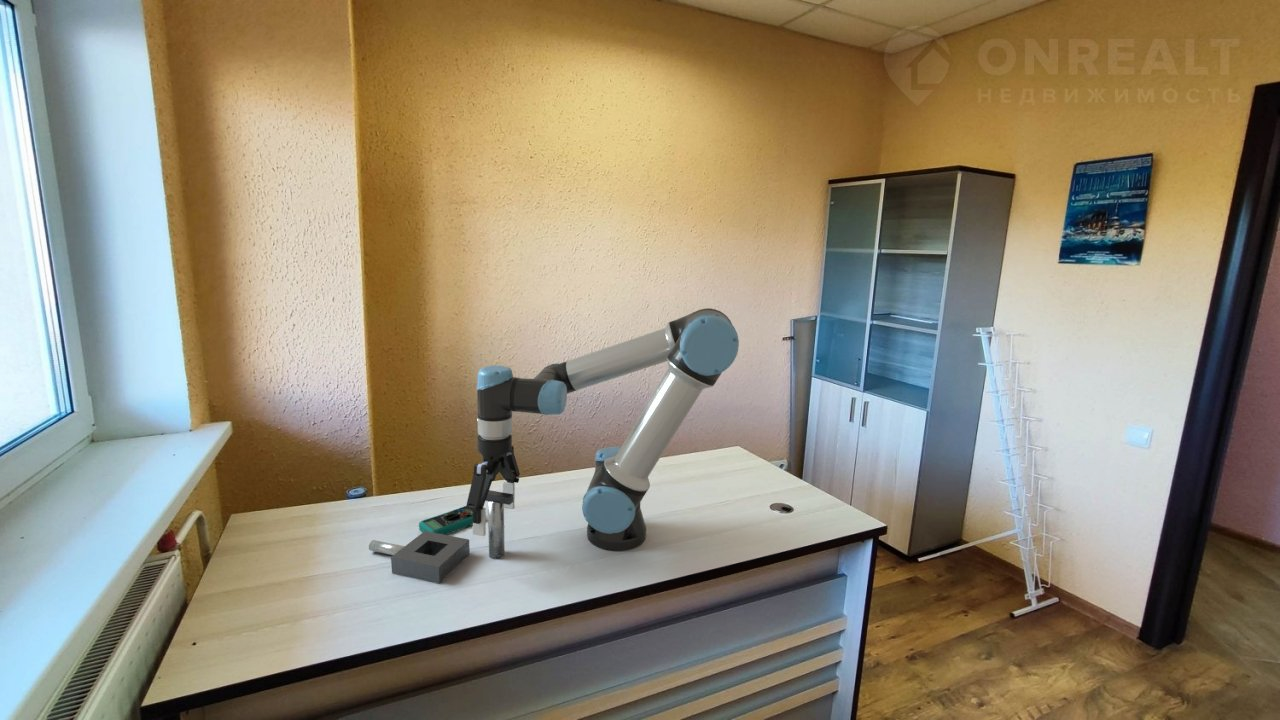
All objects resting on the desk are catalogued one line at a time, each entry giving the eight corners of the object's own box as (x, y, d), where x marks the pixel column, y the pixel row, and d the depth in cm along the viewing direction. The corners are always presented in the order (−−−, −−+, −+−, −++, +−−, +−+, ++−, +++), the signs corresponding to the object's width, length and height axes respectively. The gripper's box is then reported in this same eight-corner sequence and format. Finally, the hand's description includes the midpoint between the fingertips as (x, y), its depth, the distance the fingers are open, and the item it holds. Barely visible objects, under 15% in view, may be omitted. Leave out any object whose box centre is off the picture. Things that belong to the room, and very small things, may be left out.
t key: (515, 554, 136) (515, 492, 132) (508, 562, 132) (507, 499, 129) (485, 548, 138) (484, 487, 134) (477, 556, 134) (476, 493, 131)
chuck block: (469, 554, 135) (469, 539, 134) (439, 583, 123) (438, 567, 122) (390, 539, 140) (389, 524, 139) (354, 565, 129) (352, 549, 128)
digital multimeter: (484, 522, 151) (484, 511, 150) (431, 542, 140) (431, 531, 140) (470, 512, 156) (469, 502, 155) (417, 531, 145) (417, 520, 145)
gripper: (506, 416, 141) (506, 495, 146) (447, 450, 118) (449, 544, 122) (534, 420, 140) (532, 500, 144) (480, 456, 116) (480, 550, 120)
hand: (494, 520), depth 133 cm, fingers open, 13 cm apart
